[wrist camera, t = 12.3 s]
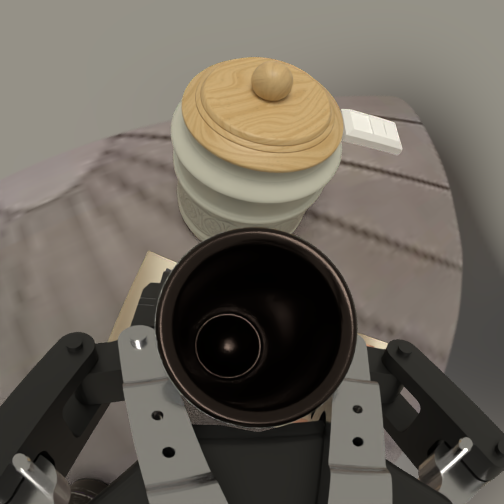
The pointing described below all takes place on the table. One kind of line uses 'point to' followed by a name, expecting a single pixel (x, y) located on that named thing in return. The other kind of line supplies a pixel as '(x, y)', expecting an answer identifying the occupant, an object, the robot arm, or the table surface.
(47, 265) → the table surface
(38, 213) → the table surface
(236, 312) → the grey tumbler
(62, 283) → the table surface
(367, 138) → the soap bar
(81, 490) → the supplement bottle
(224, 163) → the jar
